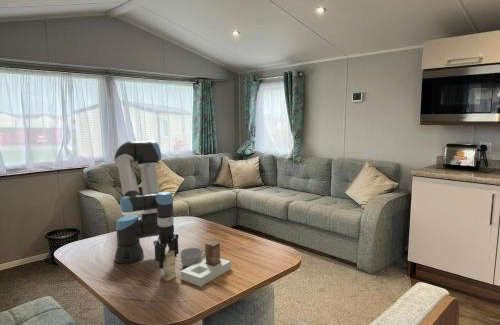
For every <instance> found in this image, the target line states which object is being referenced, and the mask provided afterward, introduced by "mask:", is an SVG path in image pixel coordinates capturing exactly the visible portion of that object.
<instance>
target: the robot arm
mask: <svg viewBox="0 0 500 325" xmlns="http://www.w3.org/2000/svg"><path fill="white" fill-rule="evenodd" d="M161 160H162V153H161V148H160V145H159V143H158V142H157V141H156V140H138V141H136V140H135V141H126V142H124V143H122V144H121V145H120V146H119V147H118V148H117V150H116V151H115V153H114V163H115V166H116V167H117V170H118V175H119V180H120V185H121V191H122V195H123V196H121V197H120V199H119V205H120V211H121V212H122V213H134V212H141V211H142V212H141V216H139V215H138V214H128V215H124V216H121V217H120V218H118V219H116V223H115V230H116V243H117V245H116V250H115V254H114V262H115V261H116V262H115V263H117V262H118V264H121V263H127V264H132V263H136V262H139V261H141V260H142V259H144V257H145V254H144V252H145V251H144V250H143V247H142V246H141V240H140V239H145V238H151V237H158V238H157V240H154V241H153V246H154V261H155V262H157V263H158V264H159V265H158V266H159V270H160V269H161V274H163V275H166V269H165V261H164V256H165V250H166V249H167V248H168V249H169V250H173V251H175V258H177V257H178V255H179V254H180V252H179V234H178V233H175V225H174V223H175V221H174V198H173V193H172V192H170V191H159V184H158V172H157V166H158V165H159V163H160V162H159V161H161ZM134 163H137V164H136V165H137V166H138V167H139V169H140V176H141V186H142V187H141V188H142V189H141V190H142V194H140V189H139V185H138V182H137V177H136V172H135V169H134Z"/></svg>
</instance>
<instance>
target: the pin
mask: <svg viewBox="0 0 500 325" xmlns="http://www.w3.org/2000/svg"><path fill="white" fill-rule="evenodd" d="M164 261H165V269H166V275H163V274H161V269H160V268H159V272H160V274H159V275H160V279H162V280H164V281H166V282H167V281H168V282H169V281H171V280H172V279H174V278H175V277H176V276H177V275H176V257H175V251H173V250H169V248H166V249H165V256H164Z"/></svg>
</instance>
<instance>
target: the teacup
mask: <svg viewBox="0 0 500 325" xmlns="http://www.w3.org/2000/svg"><path fill="white" fill-rule="evenodd" d="M203 252H204V254H203ZM179 254H180V260H181V261H180V262H181V264H182V265H183V266H184V267H185V268H188V267H190V266H192V265H194V264H196V263H198V262H200V261H202V260H204V259H205V258H206V248H202V249H201V248H199V247H188V248H184V249H182V250H180V252H179ZM202 254H203V255H202Z"/></svg>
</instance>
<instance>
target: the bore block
mask: <svg viewBox="0 0 500 325" xmlns="http://www.w3.org/2000/svg"><path fill="white" fill-rule="evenodd" d="M230 270H232V261H231V260H228V259H224V258H221V257H220V263H219V264H217V265H215V266H211V265H208V264H206V258H203V259H202V260H201V261H200V262H198V263H196V264H194V265H192V266H190V267H185V268H184V269H182V270H180V272H179V273H180V280H181V281H184V282H187V283H189V284H192V285H196V286H198V287H203V286H204V285H206V284H207V283H210V282H211V281H213V280H215V279H216V278H218V277H219V276H222V275H224V274H225V273H227V272H228V271H230Z"/></svg>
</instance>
